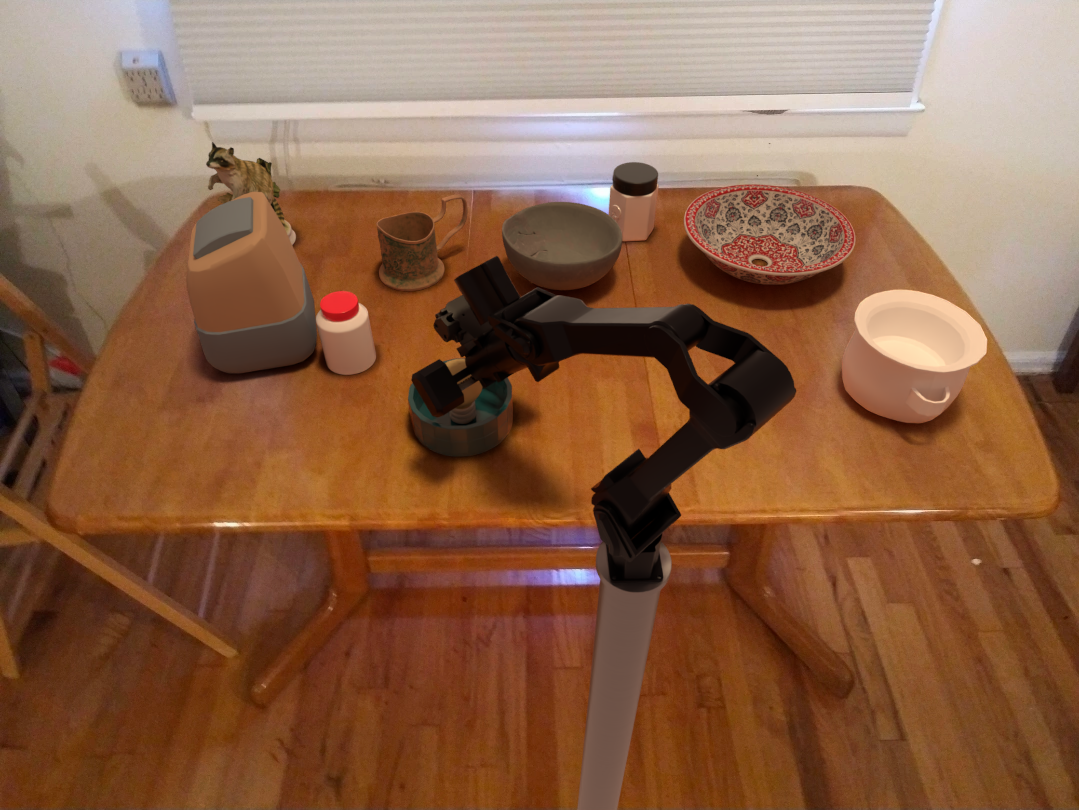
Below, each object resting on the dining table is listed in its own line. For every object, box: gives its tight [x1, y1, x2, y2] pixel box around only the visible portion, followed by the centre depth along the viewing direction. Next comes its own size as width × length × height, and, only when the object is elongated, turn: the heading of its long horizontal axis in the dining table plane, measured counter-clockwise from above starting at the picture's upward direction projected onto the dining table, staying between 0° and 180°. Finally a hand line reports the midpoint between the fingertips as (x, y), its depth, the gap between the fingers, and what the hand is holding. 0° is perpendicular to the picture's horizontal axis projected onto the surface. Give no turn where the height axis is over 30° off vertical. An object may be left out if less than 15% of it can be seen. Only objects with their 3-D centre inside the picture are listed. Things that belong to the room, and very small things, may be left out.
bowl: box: [501, 201, 623, 291], centre depth 134 cm, size 20×20×10 cm
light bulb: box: [445, 358, 482, 424], centre depth 108 cm, size 6×6×10 cm
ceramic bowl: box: [683, 183, 856, 286], centre depth 138 cm, size 29×29×8 cm
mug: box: [375, 194, 469, 292], centre depth 136 cm, size 12×18×12 cm, turn 124°
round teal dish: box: [407, 357, 514, 458], centre depth 111 cm, size 14×14×6 cm
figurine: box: [205, 141, 297, 246], centre depth 139 cm, size 12×14×20 cm
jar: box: [607, 161, 660, 242], centre depth 145 cm, size 9×8×12 cm
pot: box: [841, 289, 988, 424], centre depth 113 cm, size 22×17×12 cm
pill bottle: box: [315, 290, 377, 376], centre depth 118 cm, size 8×8×11 cm
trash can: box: [185, 192, 318, 374], centre depth 117 cm, size 17×17×23 cm
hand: (456, 374), depth 107 cm, fingers open, 9 cm apart
